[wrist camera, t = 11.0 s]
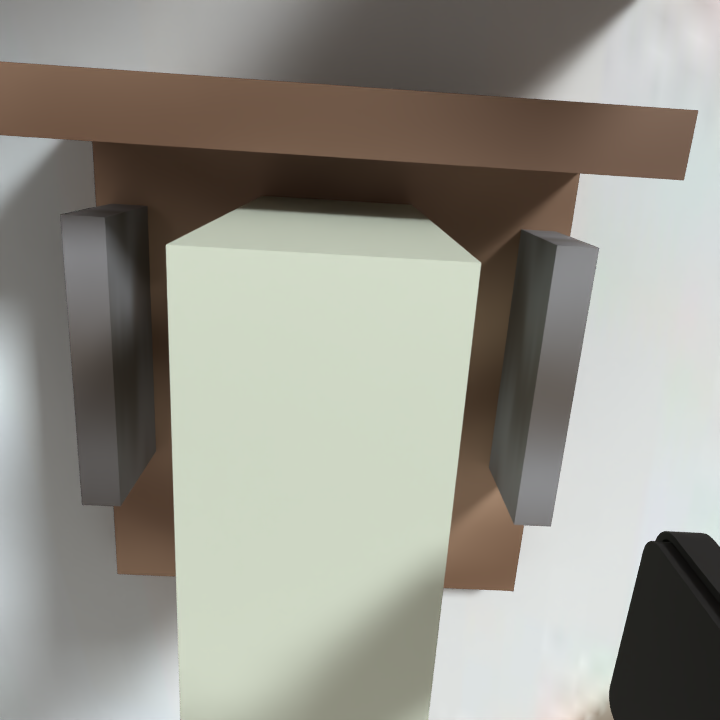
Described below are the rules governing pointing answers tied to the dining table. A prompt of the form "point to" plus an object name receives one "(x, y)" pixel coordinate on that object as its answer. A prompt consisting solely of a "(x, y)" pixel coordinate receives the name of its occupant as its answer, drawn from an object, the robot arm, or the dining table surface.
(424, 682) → the pale green box
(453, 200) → the shelf
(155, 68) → the dining table surface
